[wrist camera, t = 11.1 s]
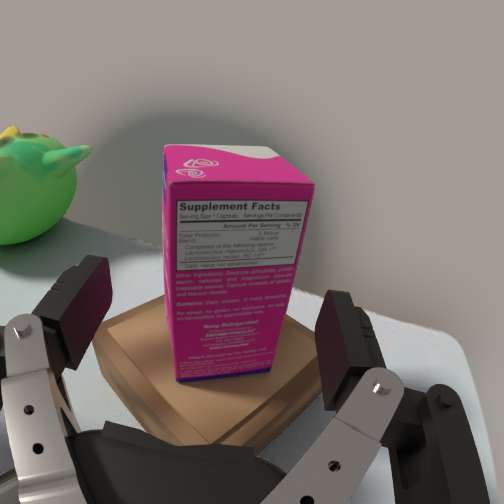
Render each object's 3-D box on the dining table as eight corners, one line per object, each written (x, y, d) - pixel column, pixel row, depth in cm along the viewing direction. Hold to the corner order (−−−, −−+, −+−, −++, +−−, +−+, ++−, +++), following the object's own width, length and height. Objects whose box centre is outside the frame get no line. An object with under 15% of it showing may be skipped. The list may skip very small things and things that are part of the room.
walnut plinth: (101, 374, 21) (87, 325, 18) (215, 314, 29) (220, 267, 27) (207, 494, 15) (210, 468, 12) (321, 392, 23) (343, 347, 20)
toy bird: (57, 200, 46) (52, 114, 39) (103, 236, 38) (100, 122, 31) (-36, 235, 33) (-52, 140, 25) (-19, 289, 25) (-51, 159, 18)
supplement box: (162, 316, 21) (163, 140, 15) (247, 310, 22) (275, 146, 17) (171, 386, 16) (167, 175, 10) (274, 374, 18) (325, 182, 12)
